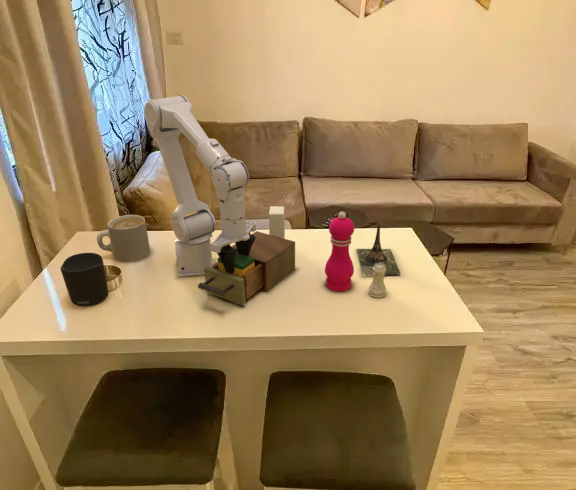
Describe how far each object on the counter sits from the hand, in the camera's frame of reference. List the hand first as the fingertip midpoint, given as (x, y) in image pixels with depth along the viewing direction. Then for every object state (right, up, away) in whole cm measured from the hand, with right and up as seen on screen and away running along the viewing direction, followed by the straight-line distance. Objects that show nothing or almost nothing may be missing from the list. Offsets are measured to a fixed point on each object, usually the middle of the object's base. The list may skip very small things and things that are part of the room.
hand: (236, 267), depth 117 cm
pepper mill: (+25, -5, +6) cm, 26 cm away
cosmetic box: (+9, +6, +24) cm, 27 cm away
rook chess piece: (+34, -7, +2) cm, 35 cm away
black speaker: (-36, -8, +1) cm, 37 cm away
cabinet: (+6, -2, +11) cm, 12 cm away
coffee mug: (-34, +4, +21) cm, 40 cm away
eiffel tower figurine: (+37, +1, +16) cm, 40 cm away
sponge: (0, -1, +1) cm, 1 cm away
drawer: (-1, -6, +2) cm, 6 cm away
